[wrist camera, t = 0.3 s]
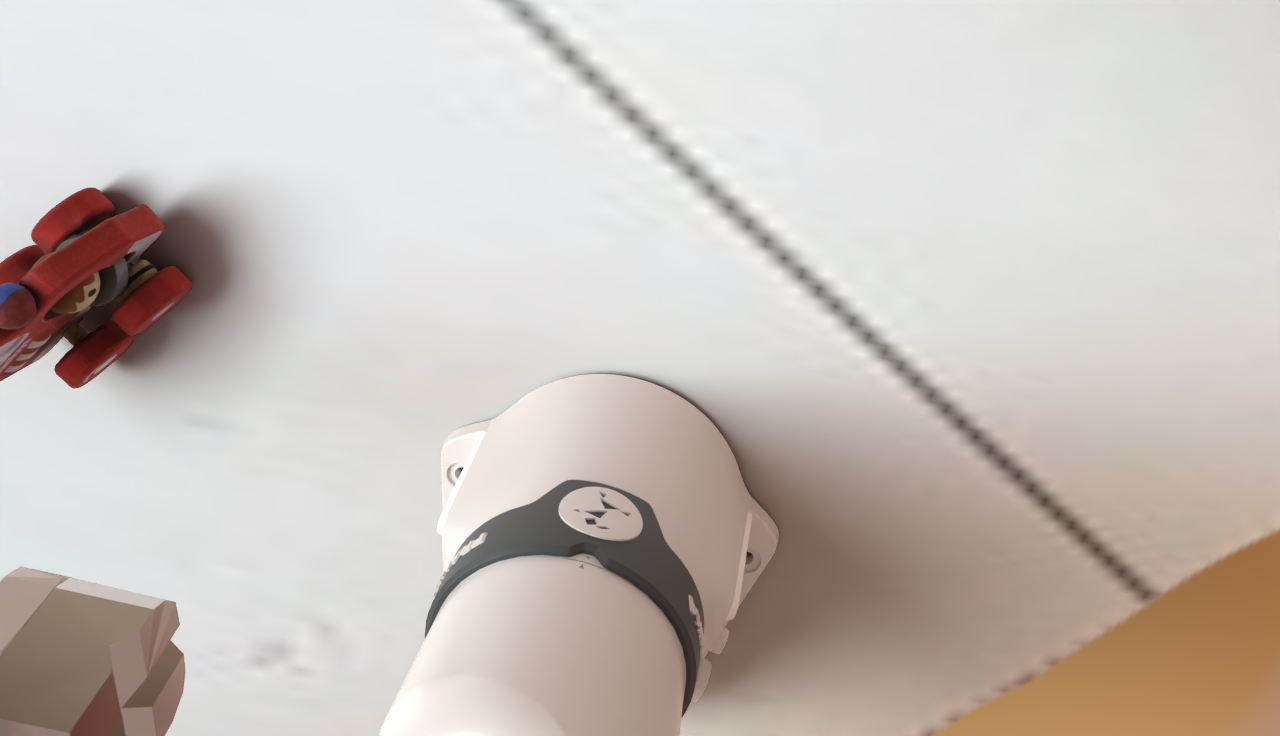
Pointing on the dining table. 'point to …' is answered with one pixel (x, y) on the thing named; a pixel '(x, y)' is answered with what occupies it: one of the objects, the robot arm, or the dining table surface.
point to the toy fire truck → (83, 286)
